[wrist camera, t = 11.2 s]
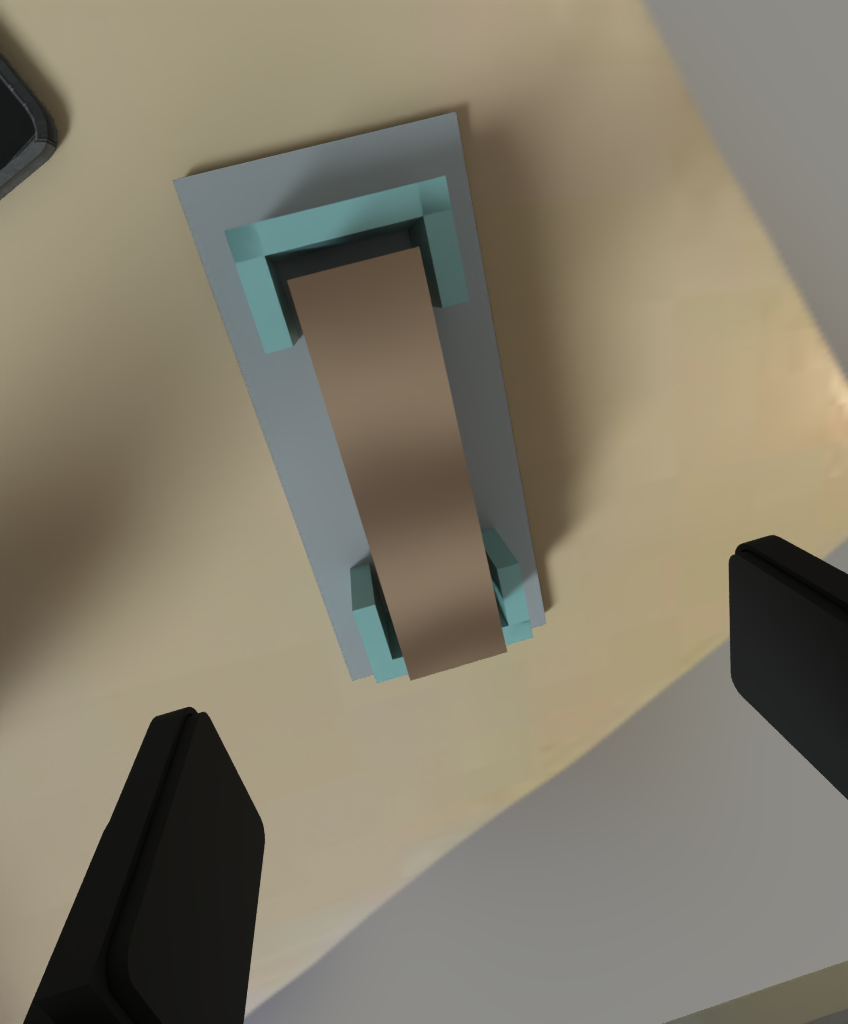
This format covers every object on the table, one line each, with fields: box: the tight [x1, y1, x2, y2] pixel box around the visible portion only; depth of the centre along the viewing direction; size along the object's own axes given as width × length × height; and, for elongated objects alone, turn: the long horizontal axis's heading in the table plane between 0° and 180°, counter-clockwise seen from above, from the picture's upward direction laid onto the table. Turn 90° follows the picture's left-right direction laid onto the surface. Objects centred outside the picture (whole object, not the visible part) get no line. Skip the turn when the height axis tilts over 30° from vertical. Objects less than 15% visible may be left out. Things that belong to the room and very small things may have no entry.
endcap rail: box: [173, 112, 546, 683], centre depth 24 cm, size 24×11×5 cm, turn 13°
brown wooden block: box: [287, 247, 507, 680], centre depth 22 cm, size 15×4×7 cm, turn 13°
